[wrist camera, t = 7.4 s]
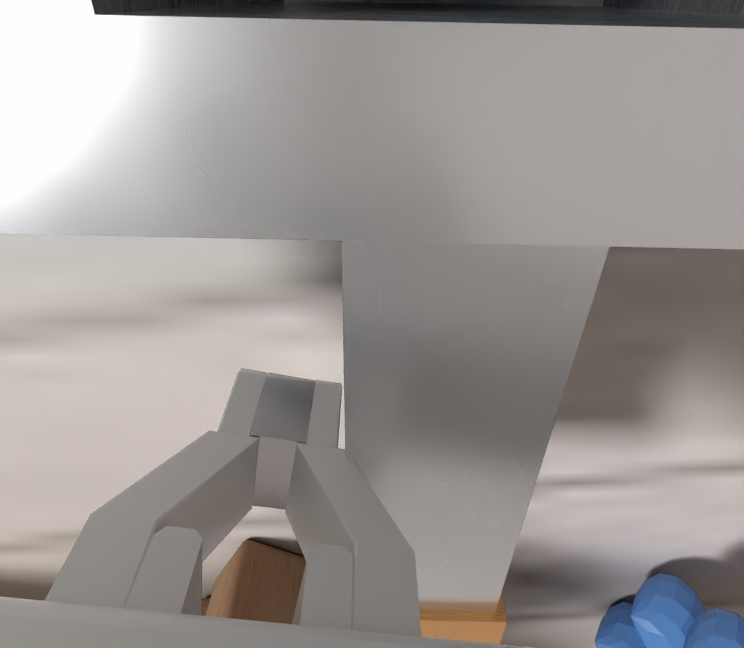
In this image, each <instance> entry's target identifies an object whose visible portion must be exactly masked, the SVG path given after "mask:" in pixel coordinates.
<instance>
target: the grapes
mask: <svg viewBox="0 0 744 648" xmlns="http://www.w3.org/2000/svg"><path fill="white" fill-rule="evenodd" d="M595 644H596V646H597V648H744V619H743V618H742V617H741V616H739V615H738V614H737V613H734V612H730V611H726V610H722V609H718V608H714V609H711V610H709V611H705V608H704V606H703V605H702V603H701V602H700V600H699V598H698V597H697V595H696V594H695V592H694V590H692V589H691V588H690V587H689V586H688V585H687V584H685V583H684V582H683V581H682V580H681V579H679V578H678V577H676V576H671V575H667V574H662V573H659V574H657V575H655V576H653V577H651V578H649V579H646V580H645V582H644V583H643V585H642V586H641V587H640V589H639V590H638V592H637V593H636V596H635V599H634V602H633V604H631V603H627V602H621V603H619V604H617V605H615V606H612V607H610V609H609V610H608V612H607V613H606V614H605V616H604V617H603V619H602V620H601V623H600V626H599V628H598V631H597V634H596V638H595Z"/></svg>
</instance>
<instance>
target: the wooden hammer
mask: <svg viewBox="0 0 744 648" xmlns="http://www.w3.org/2000/svg"><path fill="white" fill-rule="evenodd" d="M305 566H306V560H305V557H302V556H299V555H296V554H293V553H290V552H287V551H283V550H280V549H277V548H274V547H271V546H268V545H265V544H262V543H258V542H255V541H252V540H248V541H244V542H243V543H242V544H241V546H240V547H239V548H238V550H237V551H236V553H235V554H234V555H233V557H232V558H231V559H230V561H229V562H228V564H227V565H226V566H225V568H224V569H223V570H222V572H221V573H220V574H219V576H218V577H217V579H216V580H215V584H214V587H213V591H212V594H211V598H205V599H203V600H201V616H211V617H222V618H232V619H243V620H253V621H264V622H275V623H285V624H292V621H293V616H294V612H295V608H296V604H297V600H298V595H299V591H300V587H301V583H302V579H303V574H304V570H305Z"/></svg>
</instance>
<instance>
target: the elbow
mask: <svg viewBox="0 0 744 648" xmlns="http://www.w3.org/2000/svg"><path fill="white" fill-rule="evenodd" d="M0 233H10V234H56V235H102V236H148V237H194V238H240V239H286V240H331V241H342V293H343V347H344V401H345V456H346V460H352V461H354V463H355V464H356V466H357V467H358V469H359V470H360V472H361V473H362V475H363V476H364V478H365V479H366V481H367V482H368V484H369V485H370V487H371V488H372V490H373V491H374V493H375V494H376V496H377V497H378V499H379V500H380V502H381V503H382V504H383V506H384V507H385V509H386V510H387V512H388V513H389V515H390V516H391V518H392V519H393V521H394V522H395V524H396V525H397V527H398V528H399V530H400V531H401V533H402V534H403V536H404V537H405V539H406V540H407V542H408V543H409V545H410V546H411V548H412V549H413V551H414V552H415V560H416V573H417V587H418V600H419V613H420V626H421V637H431V638H442V639H452V640H463V641H473V642H484V643H494V644H500V642H501V639H502V636H503V633H504V630H505V627H506V624H507V619H506V614H505V609H504V604H503V599H502V594H501V592H502V589H503V586H504V582H505V579H506V576H507V573H508V570H509V566H510V563H511V560H512V557H513V554H514V551H515V547H516V544H517V541H518V538H519V535H520V531H521V528H522V525H523V522H524V519H525V515H526V512H527V509H528V506H529V503H530V499H531V496H532V493H533V490H534V487H535V484H536V480H537V477H538V474H539V471H540V468H541V464H542V461H543V458H544V455H545V452H546V448H547V445H548V442H549V439H550V436H551V432H552V429H553V426H554V423H555V420H556V417H557V413H558V410H559V407H560V404H561V401H562V397H563V394H564V391H565V388H566V385H567V381H568V378H569V375H570V372H571V369H572V365H573V362H574V359H575V356H576V353H577V350H578V346H579V343H580V340H581V337H582V334H583V330H584V327H585V324H586V321H587V318H588V314H589V311H590V308H591V305H592V302H593V298H594V295H595V292H596V289H597V286H598V283H599V279H600V276H601V273H602V270H603V267H604V263H605V260H606V257H607V254H608V251H609V247H652V248H698V249H744V0H604V3H603V7H601V6H554V5H507V4H460V3H413V2H366V1H319V0H0Z"/></svg>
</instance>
